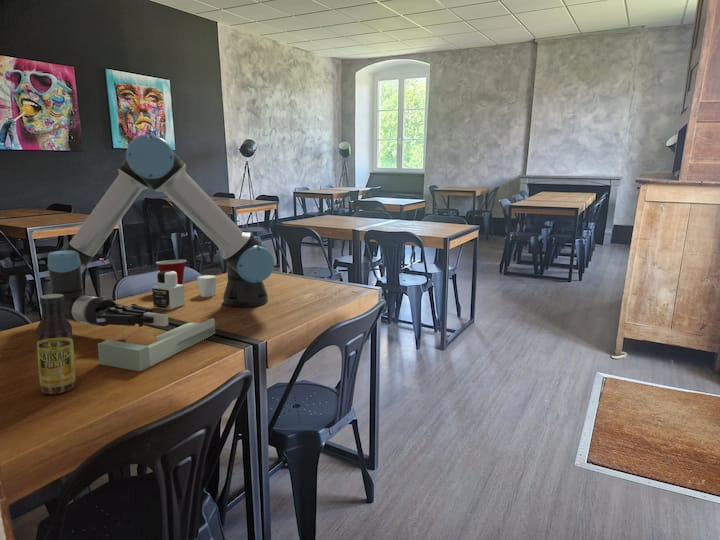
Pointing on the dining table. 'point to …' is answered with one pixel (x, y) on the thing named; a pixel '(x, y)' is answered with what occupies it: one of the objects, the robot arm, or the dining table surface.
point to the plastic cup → (173, 268)
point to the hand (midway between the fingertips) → (166, 320)
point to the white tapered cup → (207, 285)
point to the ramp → (154, 347)
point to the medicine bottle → (168, 291)
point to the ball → (142, 338)
